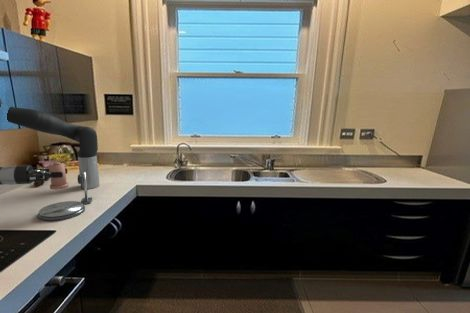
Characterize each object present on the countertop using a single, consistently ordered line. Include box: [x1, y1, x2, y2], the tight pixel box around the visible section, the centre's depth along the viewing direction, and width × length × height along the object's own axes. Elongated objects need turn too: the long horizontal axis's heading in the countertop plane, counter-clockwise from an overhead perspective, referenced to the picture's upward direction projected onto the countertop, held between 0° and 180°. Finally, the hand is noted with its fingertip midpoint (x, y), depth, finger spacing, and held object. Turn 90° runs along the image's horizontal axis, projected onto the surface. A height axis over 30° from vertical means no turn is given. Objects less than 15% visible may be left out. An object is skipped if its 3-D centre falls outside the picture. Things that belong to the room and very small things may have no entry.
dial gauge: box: [77, 172, 94, 205], centre depth 129 cm, size 4×4×15 cm
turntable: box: [38, 200, 85, 218], centre depth 118 cm, size 16×16×1 cm
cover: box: [48, 161, 69, 190], centre depth 115 cm, size 7×7×10 cm
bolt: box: [33, 179, 50, 188], centre depth 158 cm, size 6×5×15 cm
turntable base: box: [37, 204, 86, 222], centre depth 118 cm, size 17×17×1 cm
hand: (64, 172), depth 115 cm, fingers closed on cover, 5 cm apart
